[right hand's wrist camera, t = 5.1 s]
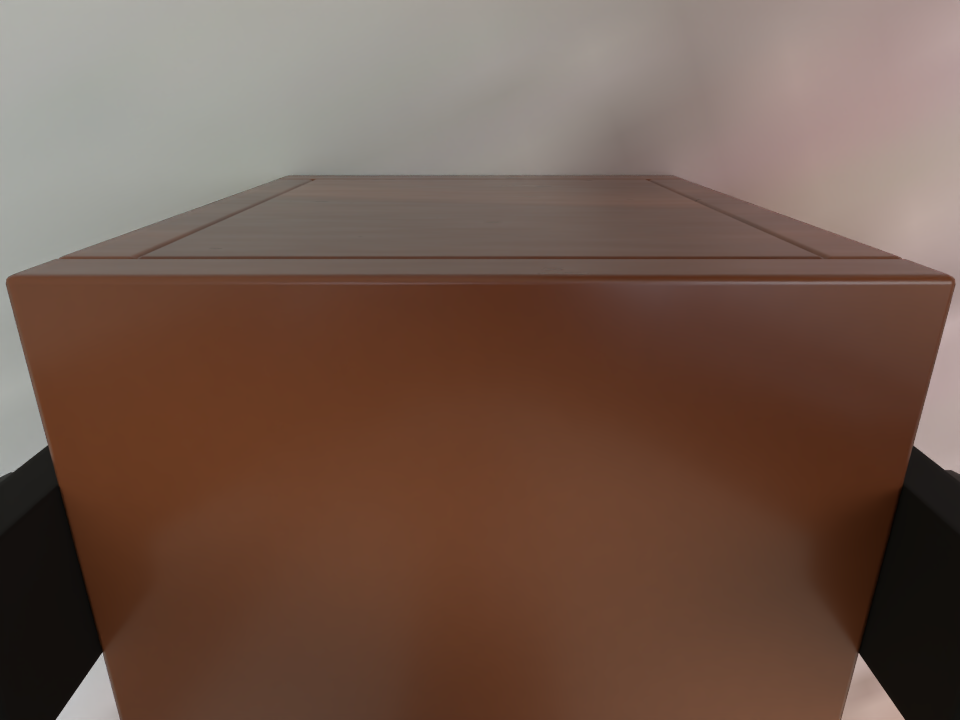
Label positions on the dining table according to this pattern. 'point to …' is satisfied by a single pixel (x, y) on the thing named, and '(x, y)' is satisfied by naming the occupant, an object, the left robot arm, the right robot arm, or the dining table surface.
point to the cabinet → (480, 449)
